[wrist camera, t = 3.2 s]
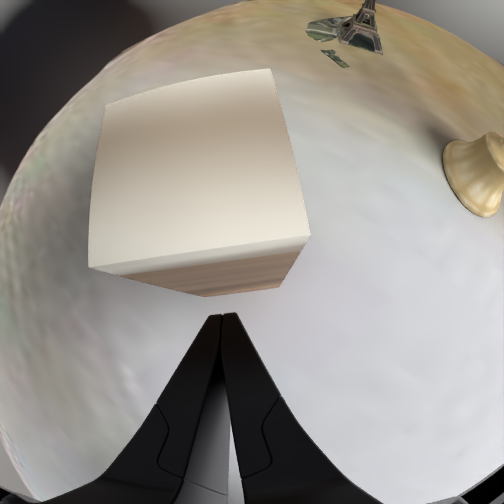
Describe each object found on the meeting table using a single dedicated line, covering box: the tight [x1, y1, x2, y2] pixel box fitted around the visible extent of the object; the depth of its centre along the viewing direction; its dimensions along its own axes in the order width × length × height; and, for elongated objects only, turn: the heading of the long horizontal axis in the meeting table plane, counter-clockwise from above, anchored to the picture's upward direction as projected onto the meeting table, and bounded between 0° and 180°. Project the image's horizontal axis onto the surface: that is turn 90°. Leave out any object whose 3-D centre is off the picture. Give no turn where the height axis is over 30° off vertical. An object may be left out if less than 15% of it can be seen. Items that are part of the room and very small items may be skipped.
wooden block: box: [88, 69, 311, 297], centre depth 12 cm, size 5×5×13 cm
